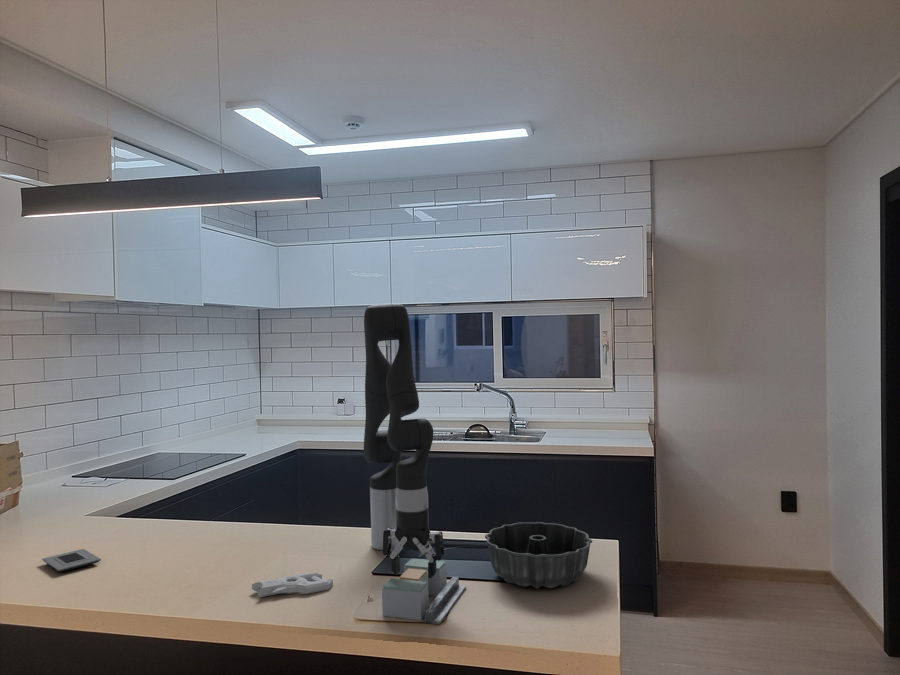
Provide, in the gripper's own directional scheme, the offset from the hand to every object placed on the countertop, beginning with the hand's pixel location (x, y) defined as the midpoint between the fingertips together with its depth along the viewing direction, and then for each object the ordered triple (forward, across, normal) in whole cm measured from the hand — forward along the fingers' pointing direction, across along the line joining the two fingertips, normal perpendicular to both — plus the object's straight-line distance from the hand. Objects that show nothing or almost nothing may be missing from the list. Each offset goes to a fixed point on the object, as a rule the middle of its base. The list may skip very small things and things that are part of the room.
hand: (413, 575), depth 155 cm
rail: (+6, -7, 0) cm, 9 cm away
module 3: (+6, -1, -6) cm, 9 cm away
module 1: (+6, 0, 0) cm, 6 cm away
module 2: (+6, -1, +7) cm, 9 cm away
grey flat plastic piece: (+7, +31, +1) cm, 31 cm away
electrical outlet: (+7, +100, +1) cm, 100 cm away
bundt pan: (+6, -25, -22) cm, 34 cm away
